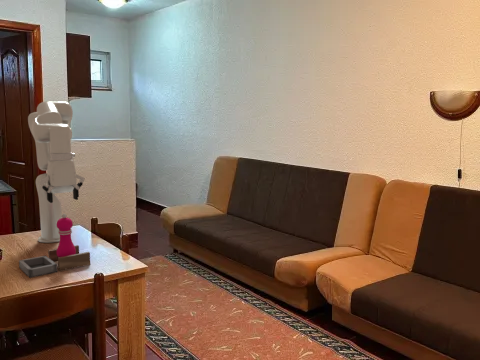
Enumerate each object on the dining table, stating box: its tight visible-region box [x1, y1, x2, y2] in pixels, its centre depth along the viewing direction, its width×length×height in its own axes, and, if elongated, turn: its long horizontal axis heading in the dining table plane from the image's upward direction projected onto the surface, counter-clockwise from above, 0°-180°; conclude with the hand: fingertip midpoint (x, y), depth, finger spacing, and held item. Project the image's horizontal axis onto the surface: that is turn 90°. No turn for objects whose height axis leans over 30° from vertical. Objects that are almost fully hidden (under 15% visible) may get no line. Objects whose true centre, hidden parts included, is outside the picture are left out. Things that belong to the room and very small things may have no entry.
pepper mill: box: [56, 213, 76, 257], centre depth 183 cm, size 7×7×20 cm
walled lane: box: [47, 244, 91, 272], centre depth 185 cm, size 13×12×5 cm
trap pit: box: [18, 255, 58, 279], centre depth 177 cm, size 14×10×3 cm
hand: (63, 200), depth 181 cm, fingers open, 9 cm apart
